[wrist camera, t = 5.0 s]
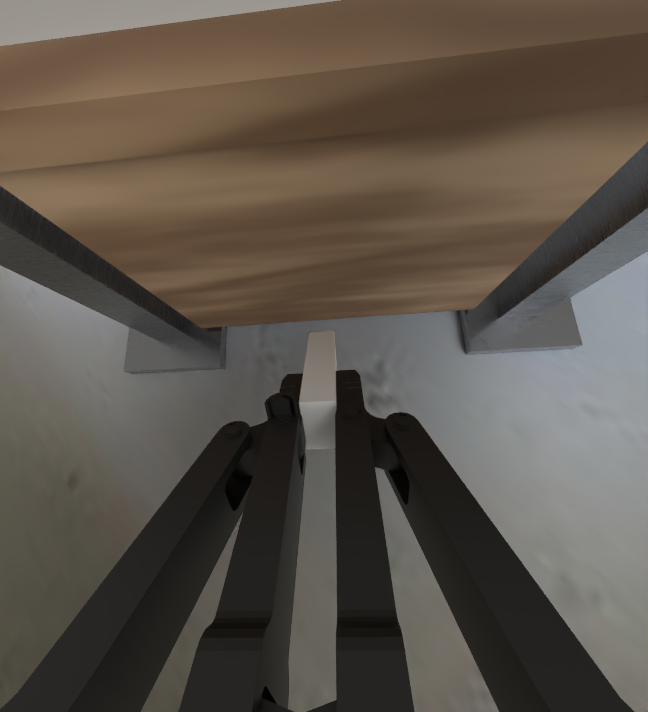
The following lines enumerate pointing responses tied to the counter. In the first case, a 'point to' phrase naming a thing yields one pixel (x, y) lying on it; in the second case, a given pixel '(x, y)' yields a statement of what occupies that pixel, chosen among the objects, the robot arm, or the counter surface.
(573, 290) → the gate frame
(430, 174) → the gate leaf
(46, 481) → the counter surface
